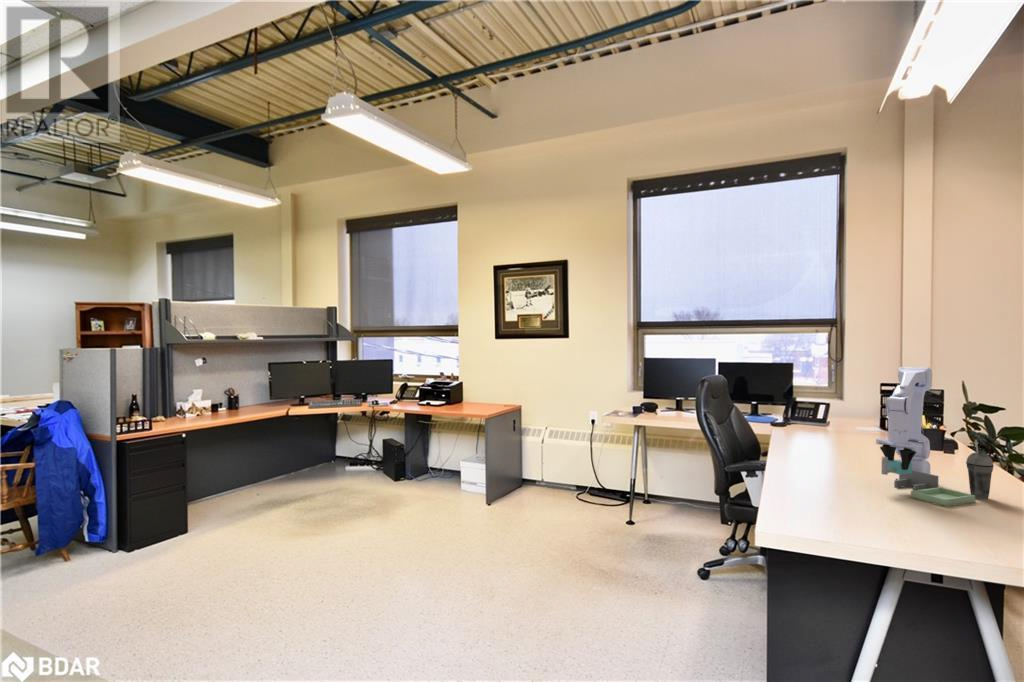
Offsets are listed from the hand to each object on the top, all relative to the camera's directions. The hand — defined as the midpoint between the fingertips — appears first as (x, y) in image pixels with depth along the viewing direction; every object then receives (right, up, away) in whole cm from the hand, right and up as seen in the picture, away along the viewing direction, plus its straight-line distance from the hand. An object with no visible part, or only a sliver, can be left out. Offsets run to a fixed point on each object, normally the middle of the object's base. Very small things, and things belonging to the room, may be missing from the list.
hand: (897, 467), depth 189 cm
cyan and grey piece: (-2, -2, -1) cm, 2 cm away
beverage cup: (+23, -9, -7) cm, 26 cm away
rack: (+7, -8, +3) cm, 11 cm away
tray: (+8, -8, -10) cm, 15 cm away
